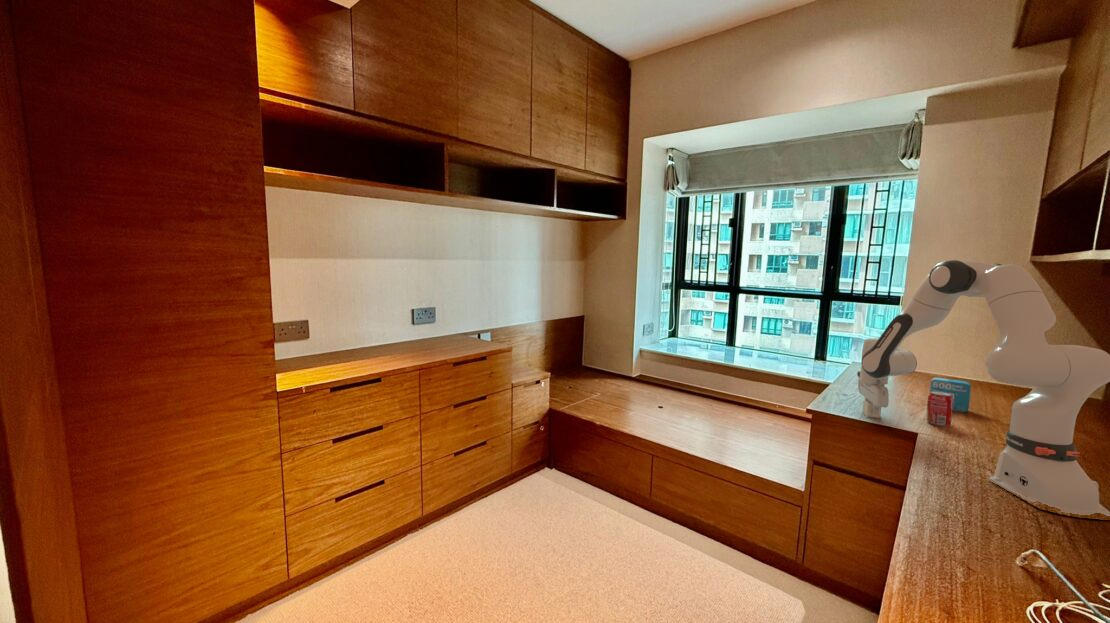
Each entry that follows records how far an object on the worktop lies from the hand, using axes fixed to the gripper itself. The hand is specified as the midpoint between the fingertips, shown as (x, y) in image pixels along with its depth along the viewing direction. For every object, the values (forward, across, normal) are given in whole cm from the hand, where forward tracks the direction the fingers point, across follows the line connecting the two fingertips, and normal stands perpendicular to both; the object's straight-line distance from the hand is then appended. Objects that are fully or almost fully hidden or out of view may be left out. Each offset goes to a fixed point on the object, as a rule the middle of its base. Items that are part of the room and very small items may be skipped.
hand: (871, 411), depth 169 cm
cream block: (+2, 0, 0) cm, 2 cm away
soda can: (+2, -4, -20) cm, 20 cm away
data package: (+2, +18, -33) cm, 38 cm away
